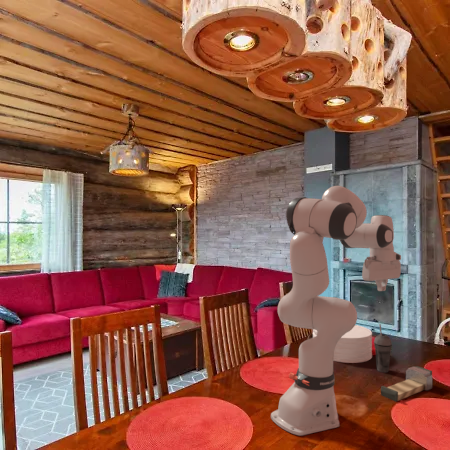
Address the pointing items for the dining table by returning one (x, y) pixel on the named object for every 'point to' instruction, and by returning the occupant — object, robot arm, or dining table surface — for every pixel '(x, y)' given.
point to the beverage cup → (382, 351)
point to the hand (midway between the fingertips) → (381, 290)
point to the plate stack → (353, 346)
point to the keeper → (420, 376)
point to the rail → (403, 389)
